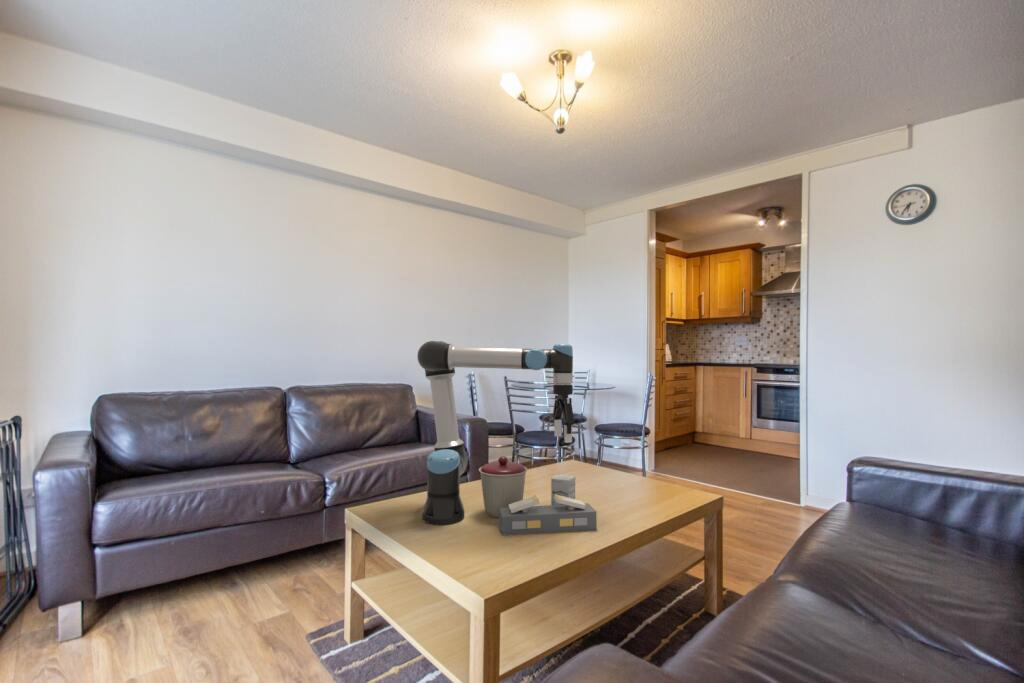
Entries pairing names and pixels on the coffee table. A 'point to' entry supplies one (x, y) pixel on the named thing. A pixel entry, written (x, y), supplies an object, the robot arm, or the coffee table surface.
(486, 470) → the canister
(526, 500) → the rocker
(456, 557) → the coffee table surface
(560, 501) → the bar
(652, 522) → the coffee table surface
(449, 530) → the coffee table surface
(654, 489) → the coffee table surface
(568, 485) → the supplement box
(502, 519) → the console
